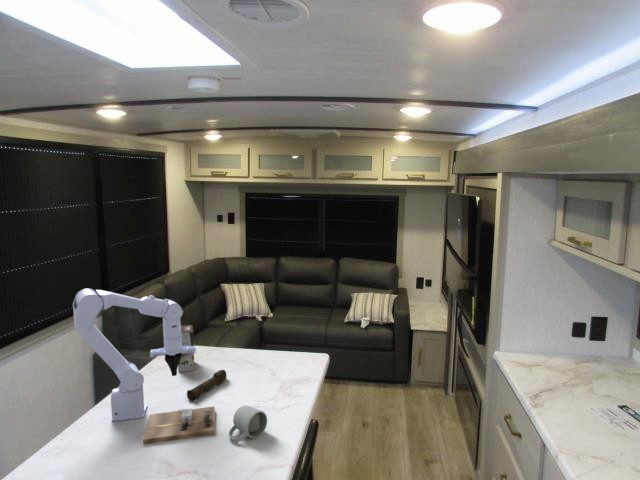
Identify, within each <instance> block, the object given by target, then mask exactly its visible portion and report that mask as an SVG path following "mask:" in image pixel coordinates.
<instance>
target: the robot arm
mask: <svg viewBox="0 0 640 480" xmlns="http://www.w3.org/2000/svg"><path fill="white" fill-rule="evenodd" d="M112 306H115V307H122V308H128V309H135V310H138V312H139V313H140V314H142V315H146V316H152V317H156V318H157V317H158V318H162V332H163V333H162V335H163V347H160V348H155V349H150V351H149V356H150V358H154V357H159V356H164V361H165V362H166V364H167V365H168V368H169V370H170V373H171V377H176V376H177V374H178V364H179V361H180V359H181V356H182V354H185V353H194V354H196V351H197V349H196V345H194V346H182V338H181V326H182V322H181V318H182V316H183V313H184V310H183V309H182V306H181V305H179V303H177V302H175V301H174V300H171V299H168V298H164V299H160V298H157V297H155V296H154V295H151V294H150V295H149V296H143V297H141V298H137V297H133V296H129V295H125V294H121V293H116V292H114V291H113V292H112V291H107V290H103V289H93V288H83V289H81V290H79V291H78V292H76V294H75V297H74V299H73V302H72V309H73V325H74V326H73V327H74V330H75V331H76V333H78V335H79V336H80V337H82V338H83V340H84V341H85V342H86V343H87V344H88V346H90V348H92V349H93V350H94V351H95V353H96V354H97V355H98V356H99V357H100V358H101V359H102V360H103V361H104V362H105V364H107V365H108V367H109V368H110V369H111V370H112V371H113V372H114V374H115V375H116V376H117V379H118V380H119V381H120V382H119V386H118V387H116V388H113V389H112V390H111V395H110V406H111V422H117V421H124V420H133V419H139V418H140V419H142V418H144V417H145V414H146V410H147V408H148V404H147V403H145V400H144V399H145V398H144V382H145V379H144V376H143V374H142V373H141V371H139V369H138V366H137V364H135V363H132V362H130V361H128V360H127V359H126V358H125V357H124V356H123V355H122V354H121V353H120V352H119V351H118V349H117V348H115V346H114V345H113V344H112V343H111V341H110V340H109V339H107V337H106V336H105V335H104V334H103V333H102V332H101V331H100V330H99V328H98V327H97V326H96V325H95V323H96V318H97V316H98V315H99V313H100V311H101V310H102V309H103V310H105V311H106V310H107V309H109V308H111V307H112Z"/></svg>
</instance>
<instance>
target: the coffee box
mask: <svg viewBox="0 0 640 480" xmlns="http://www.w3.org/2000/svg"><path fill="white" fill-rule="evenodd" d="M181 338H182V346H195V341H194V327H193V325H192V324H189V325H187V324H186V325H181ZM194 370H195V353H185V354H182V356H181V359H180V361H179V364H178V367H177V373H181V372H183V373H184V372H190V371H194Z"/></svg>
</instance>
